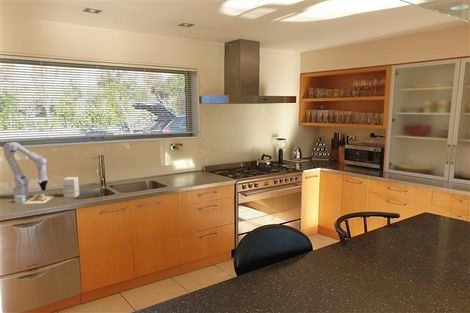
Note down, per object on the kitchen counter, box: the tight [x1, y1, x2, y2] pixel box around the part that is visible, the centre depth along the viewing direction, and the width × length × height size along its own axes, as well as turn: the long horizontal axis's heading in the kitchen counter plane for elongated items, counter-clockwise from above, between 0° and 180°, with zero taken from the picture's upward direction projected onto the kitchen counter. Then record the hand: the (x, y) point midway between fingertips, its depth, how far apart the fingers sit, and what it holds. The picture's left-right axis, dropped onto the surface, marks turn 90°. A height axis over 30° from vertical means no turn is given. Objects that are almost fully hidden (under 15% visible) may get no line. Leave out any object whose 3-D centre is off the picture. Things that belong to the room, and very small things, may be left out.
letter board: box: [22, 195, 55, 205], centre depth 254 cm, size 15×21×1 cm
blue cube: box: [14, 195, 26, 204], centre depth 247 cm, size 5×5×5 cm
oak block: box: [32, 193, 46, 201], centre depth 252 cm, size 6×5×4 cm
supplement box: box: [62, 176, 80, 198], centre depth 265 cm, size 9×9×15 cm
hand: (43, 190), depth 261 cm, fingers closed
